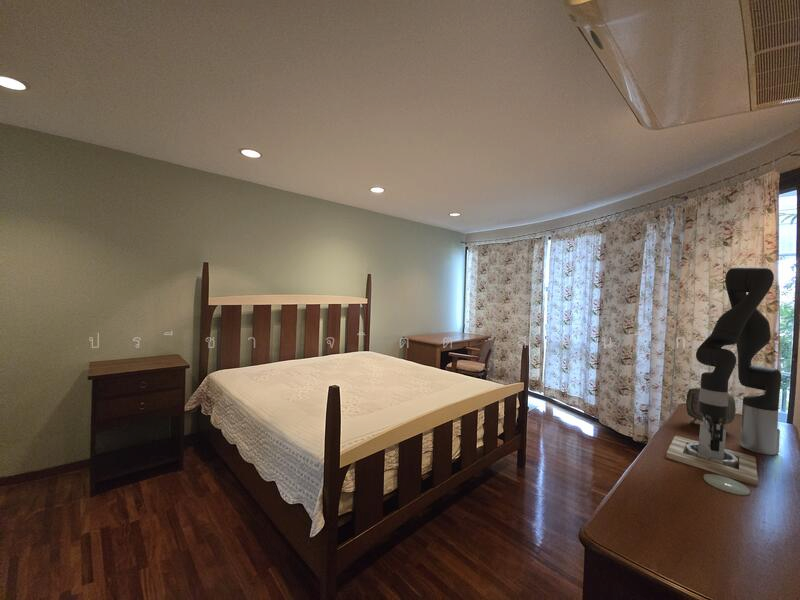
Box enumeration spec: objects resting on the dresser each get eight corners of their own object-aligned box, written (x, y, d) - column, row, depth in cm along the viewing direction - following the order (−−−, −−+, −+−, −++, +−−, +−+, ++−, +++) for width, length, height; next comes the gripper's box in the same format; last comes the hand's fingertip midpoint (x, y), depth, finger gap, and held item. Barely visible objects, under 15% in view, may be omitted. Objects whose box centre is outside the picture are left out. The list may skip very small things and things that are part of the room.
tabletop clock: (685, 423, 147) (687, 371, 147) (695, 420, 151) (697, 370, 150) (726, 436, 134) (729, 379, 134) (736, 433, 137) (739, 377, 137)
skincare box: (697, 453, 116) (698, 421, 116) (710, 454, 116) (711, 422, 115) (711, 462, 110) (712, 428, 110) (725, 463, 109) (726, 429, 109)
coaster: (726, 476, 102) (726, 474, 102) (760, 496, 92) (760, 494, 92) (694, 474, 103) (695, 473, 103) (725, 494, 93) (725, 492, 93)
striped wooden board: (674, 440, 128) (675, 435, 128) (755, 462, 112) (755, 457, 112) (666, 457, 114) (666, 452, 114) (757, 486, 97) (757, 479, 97)
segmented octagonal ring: (712, 452, 119) (712, 444, 119) (748, 471, 106) (748, 462, 106) (677, 450, 120) (677, 442, 120) (708, 468, 107) (709, 460, 107)
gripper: (735, 409, 104) (732, 458, 105) (721, 398, 117) (719, 441, 117) (704, 405, 109) (702, 451, 109) (694, 394, 121) (692, 436, 121)
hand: (711, 446), depth 113 cm, fingers closed on skincare box, 7 cm apart
